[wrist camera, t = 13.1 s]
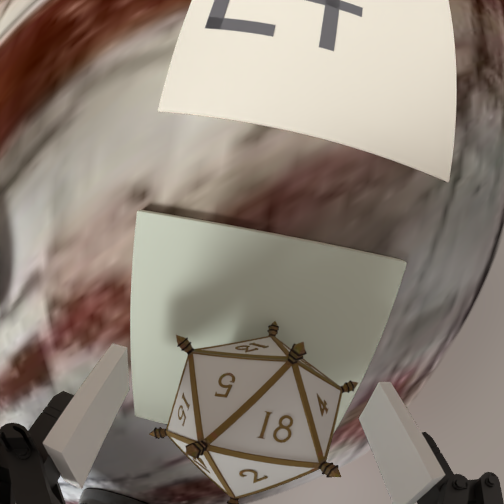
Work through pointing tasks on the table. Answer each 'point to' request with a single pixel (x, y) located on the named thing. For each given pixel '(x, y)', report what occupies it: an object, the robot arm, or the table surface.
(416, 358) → the table surface
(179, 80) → the card
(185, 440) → the game die
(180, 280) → the sage mat
